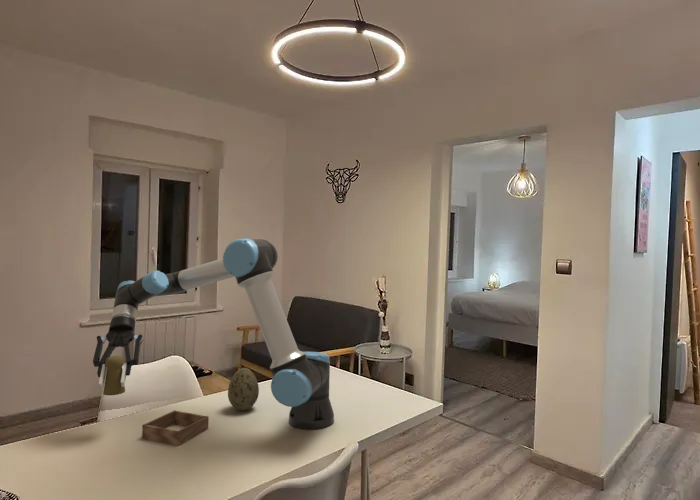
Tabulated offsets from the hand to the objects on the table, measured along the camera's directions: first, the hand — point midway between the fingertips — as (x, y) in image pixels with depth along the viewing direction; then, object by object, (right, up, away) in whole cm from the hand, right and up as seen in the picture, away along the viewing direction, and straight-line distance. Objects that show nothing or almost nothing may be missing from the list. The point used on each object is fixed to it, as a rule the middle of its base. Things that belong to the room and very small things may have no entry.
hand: (111, 385), depth 137 cm
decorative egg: (+33, -17, +27) cm, 46 cm away
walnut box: (+17, -17, +5) cm, 25 cm away
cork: (-1, -3, +4) cm, 5 cm away
